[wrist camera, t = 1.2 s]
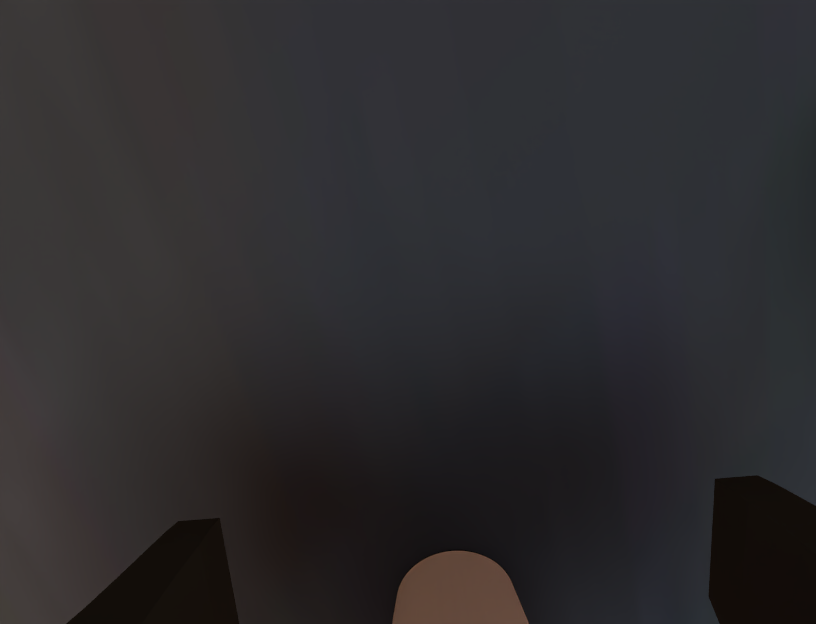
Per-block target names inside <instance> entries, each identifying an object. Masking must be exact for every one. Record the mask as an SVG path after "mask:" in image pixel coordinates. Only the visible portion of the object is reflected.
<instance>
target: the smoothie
mask: <svg viewBox="0 0 816 624" xmlns="http://www.w3.org/2000/svg"><path fill="white" fill-rule="evenodd" d="M392 624H529V623H528V620H527V618H526V615H525V613H524V611H523V608H522V606H521V603H520V601H519V599H518V596H517V594H516V591H515V589H514V587H513V584H512V582H511V580H510V578H509V576H508V575H507V573H506V572H505V571H504V570H503V569H502V567H501V566H499V565H498V564H497V563H496V562H494V561H493V560H491V559H489V558H487V557H485V556H483V555H480V554H477V553H473V552H468V551H447V552H442V553H438V554H435V555H432V556H429V557H427V558H425V559H424V560H422V561H420V562H419V563H417V564H416V565H415V566H414V567H412V568H411V569H410V570H409V572H408V573H407V574H406V575H405V577H404V578H403V580H402V582H401V584H400V586H399V589H398V593H397V598H396V604H395V609H394V615H393V621H392Z"/></svg>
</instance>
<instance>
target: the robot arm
mask: <svg viewBox="0 0 816 624" xmlns="http://www.w3.org/2000/svg"><path fill="white" fill-rule="evenodd" d="M709 599H710V601H711V603H712V606H713V608H714V611H715V613H716V616H717V618H718V621H719V623H720V624H816V506H815V505H813V504H811V503H809V502H807V501H806V500H804V499H802V498H800V497H798V496H797V495H795V494H793V493H791V492H789V491H788V490H786V489H784V488H782V487H780V486H778V485H776V484H774V483H772V482H770V481H768V480H766V479H764V478H762V477H760V476H745V477H732V478H719V479H715V489H714V507H713V526H712V544H711V563H710V581H709ZM67 624H239V621H238V615H237V610H236V605H235V599H234V594H233V588H232V583H231V578H230V572H229V567H228V561H227V556H226V550H225V545H224V540H223V534H222V529H221V523H220V518H215V519H202V520H190V521H178V522H177V523H176V524H175V525H173V526H172V527H171V528H170V529H169V530H168V531H166V532H165V533H164V534H163V535H162V536H161V537H160V538H159V539H158V540H157V541H156V542H155V543H154V544H152V545H151V546H150V547H149V548H148V549H147V550H146V551H145V552H144V553H143V554H142V555H141V556H140V557H139V558H138V559H137V560H136V561H135V562H134V563H132V564H131V565H130V566H129V567H128V568H127V569H126V570H125V571H124V572H123V573H122V574H121V575H120V576H119V577H118V578H117V579H115V580H114V581H113V582H112V583H111V584H110V585H109V586H108V587H107V588H106V589H105V590H104V591H102V592H101V593H100V594H99V595H98V596H97V597H96V598H95V599H94V600H93V601H92V602H91V603H90V604H88V605H87V606H86V607H85V608H84V609H83V610H82V611H81V612H79V613H78V614H77V615H76V616H75V617H74V618H72V619H71V620H70V621H69V622H68V623H67Z"/></svg>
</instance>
